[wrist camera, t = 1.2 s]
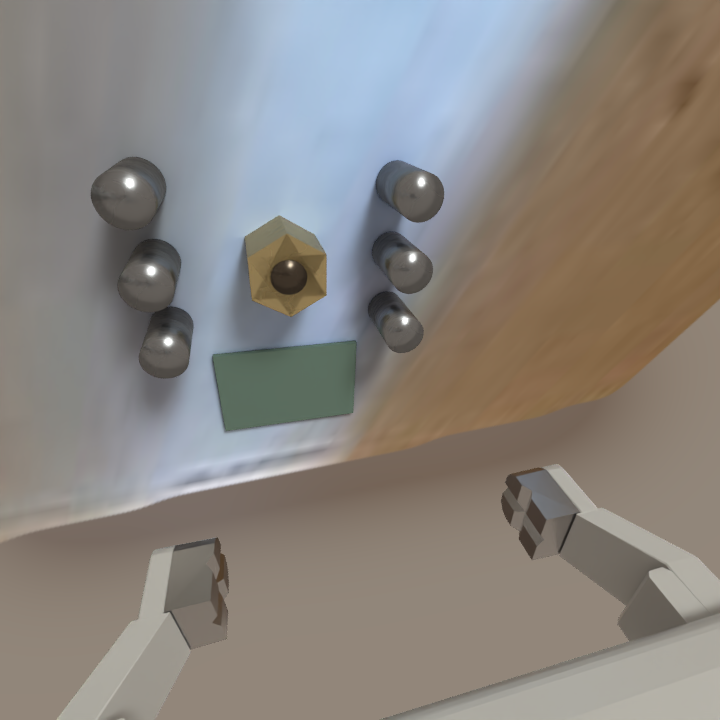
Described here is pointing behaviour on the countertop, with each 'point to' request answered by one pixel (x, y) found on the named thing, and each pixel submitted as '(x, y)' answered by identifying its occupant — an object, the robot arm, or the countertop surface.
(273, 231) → the brass nut
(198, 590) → the robot arm
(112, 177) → the spacer rows
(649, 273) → the countertop surface
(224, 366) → the rubber mat
